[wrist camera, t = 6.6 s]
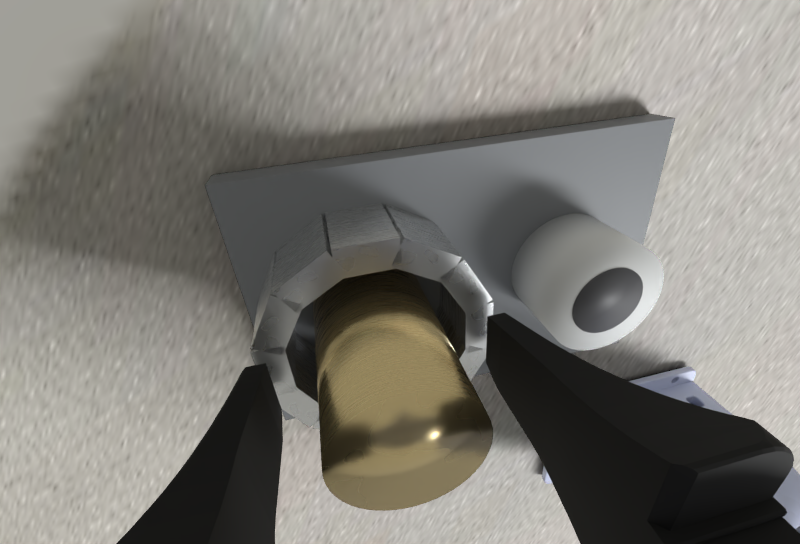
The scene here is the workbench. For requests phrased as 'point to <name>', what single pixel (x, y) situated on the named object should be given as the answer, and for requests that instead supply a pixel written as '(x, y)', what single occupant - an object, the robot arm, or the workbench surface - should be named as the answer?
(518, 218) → the flange plate
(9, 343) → the workbench surface
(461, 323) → the socket collar
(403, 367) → the brass cylinder
